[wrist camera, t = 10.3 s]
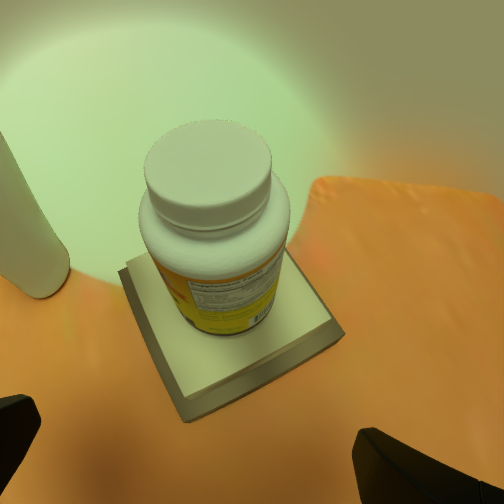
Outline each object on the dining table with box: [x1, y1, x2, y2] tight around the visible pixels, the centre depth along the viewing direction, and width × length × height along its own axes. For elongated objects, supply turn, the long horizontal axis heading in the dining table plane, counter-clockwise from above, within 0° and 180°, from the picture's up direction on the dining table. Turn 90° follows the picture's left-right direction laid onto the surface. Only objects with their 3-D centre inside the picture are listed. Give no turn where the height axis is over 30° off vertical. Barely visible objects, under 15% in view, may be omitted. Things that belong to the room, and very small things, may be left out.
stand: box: [118, 248, 345, 423], centre depth 20 cm, size 11×11×4 cm
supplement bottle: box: [139, 120, 290, 337], centre depth 14 cm, size 6×6×10 cm
